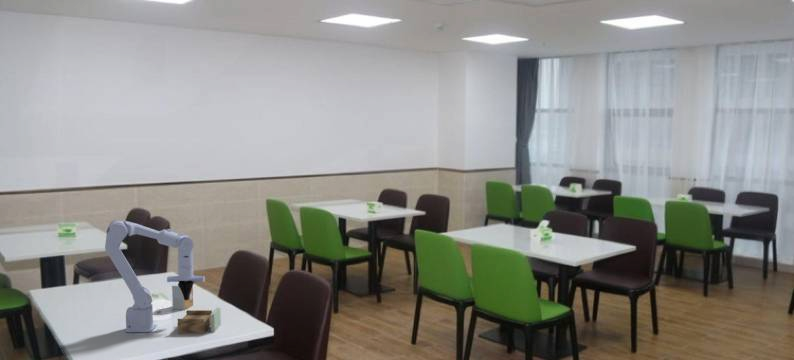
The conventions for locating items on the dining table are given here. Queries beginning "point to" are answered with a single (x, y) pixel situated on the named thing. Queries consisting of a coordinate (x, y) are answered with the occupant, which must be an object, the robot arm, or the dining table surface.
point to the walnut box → (195, 321)
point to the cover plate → (215, 319)
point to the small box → (181, 298)
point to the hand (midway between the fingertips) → (186, 299)
